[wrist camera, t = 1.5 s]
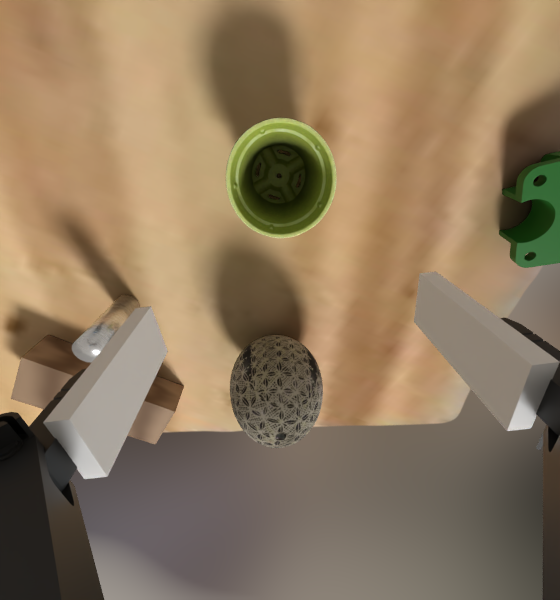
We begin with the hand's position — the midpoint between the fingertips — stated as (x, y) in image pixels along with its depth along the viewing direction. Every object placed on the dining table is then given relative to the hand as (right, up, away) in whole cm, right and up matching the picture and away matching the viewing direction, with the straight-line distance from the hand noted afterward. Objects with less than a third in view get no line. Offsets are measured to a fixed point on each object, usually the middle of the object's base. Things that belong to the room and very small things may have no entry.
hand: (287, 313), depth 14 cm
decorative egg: (-1, -7, +29) cm, 30 cm away
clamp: (+29, +12, +21) cm, 38 cm away
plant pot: (-1, +15, +18) cm, 23 cm away
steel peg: (-21, 0, +24) cm, 32 cm away
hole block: (-26, -12, +30) cm, 42 cm away
